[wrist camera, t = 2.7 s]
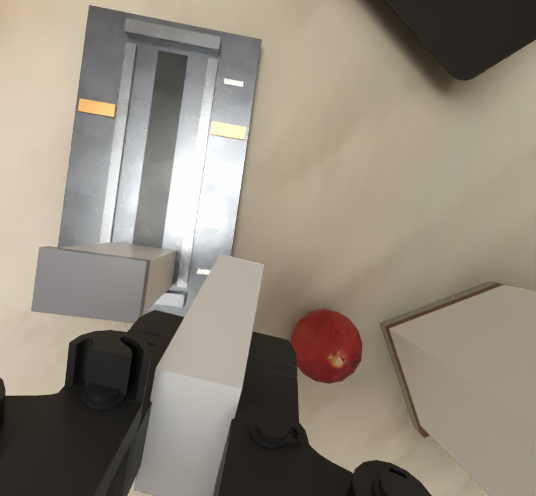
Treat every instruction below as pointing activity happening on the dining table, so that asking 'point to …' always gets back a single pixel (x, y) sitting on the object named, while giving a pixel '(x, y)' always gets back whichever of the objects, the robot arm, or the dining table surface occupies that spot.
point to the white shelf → (474, 381)
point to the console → (160, 142)
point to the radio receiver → (469, 30)
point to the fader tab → (102, 280)
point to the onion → (326, 346)
